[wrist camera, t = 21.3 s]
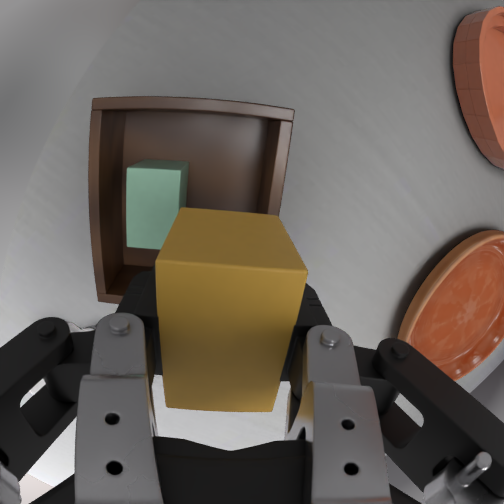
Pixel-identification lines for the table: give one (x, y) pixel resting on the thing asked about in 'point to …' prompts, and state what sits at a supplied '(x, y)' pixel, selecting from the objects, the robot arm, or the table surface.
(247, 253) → the yellow block
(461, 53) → the bowl
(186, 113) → the holder
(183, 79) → the table surface
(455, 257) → the saucer
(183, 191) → the mint green block
